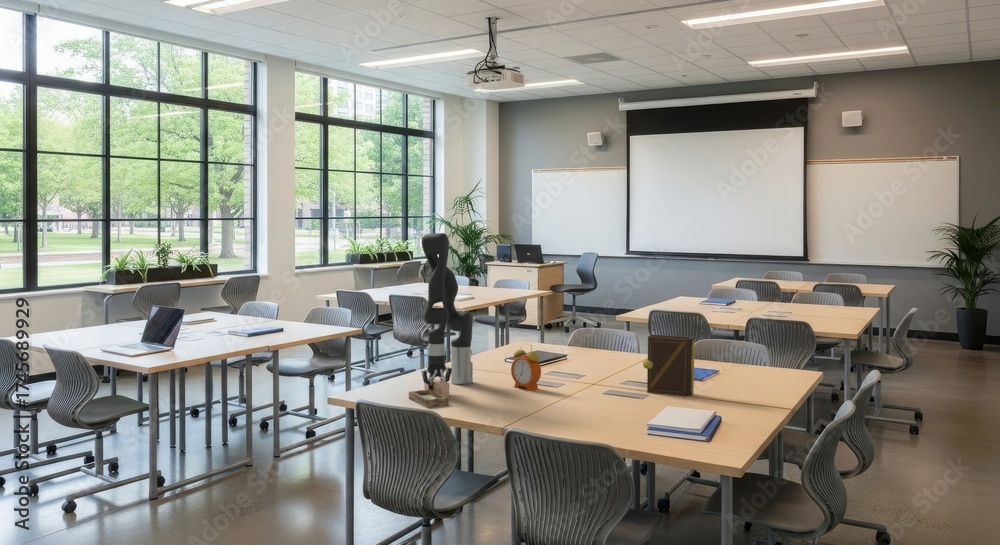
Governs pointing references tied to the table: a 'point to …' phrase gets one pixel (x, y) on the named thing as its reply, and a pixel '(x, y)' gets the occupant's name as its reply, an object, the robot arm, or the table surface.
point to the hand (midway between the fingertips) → (436, 392)
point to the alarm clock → (526, 369)
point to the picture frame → (428, 398)
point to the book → (670, 365)
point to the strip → (439, 387)
